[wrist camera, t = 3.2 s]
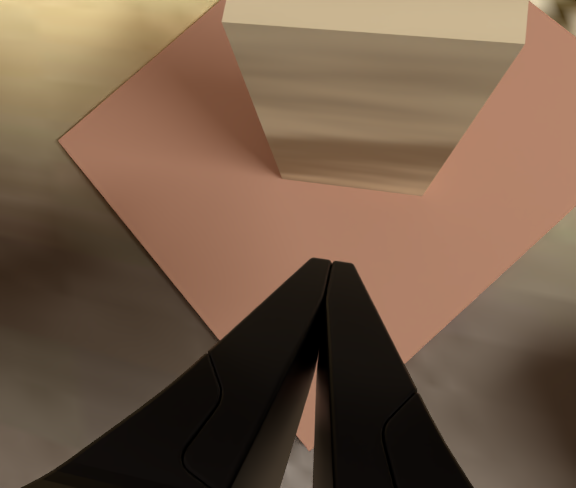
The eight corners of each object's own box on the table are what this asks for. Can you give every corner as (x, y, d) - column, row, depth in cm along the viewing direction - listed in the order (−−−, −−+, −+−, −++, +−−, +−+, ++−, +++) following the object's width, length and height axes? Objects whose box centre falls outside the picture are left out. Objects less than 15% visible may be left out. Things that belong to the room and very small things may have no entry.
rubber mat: (310, 448, 17) (309, 451, 17) (62, 143, 21) (57, 140, 20) (667, 119, 18) (675, 114, 17) (365, -118, 21) (366, -126, 21)
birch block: (422, 196, 18) (524, 44, 8) (282, 178, 19) (221, 22, 9) (432, 108, 18) (539, -132, 9) (296, 95, 19) (255, -137, 10)
